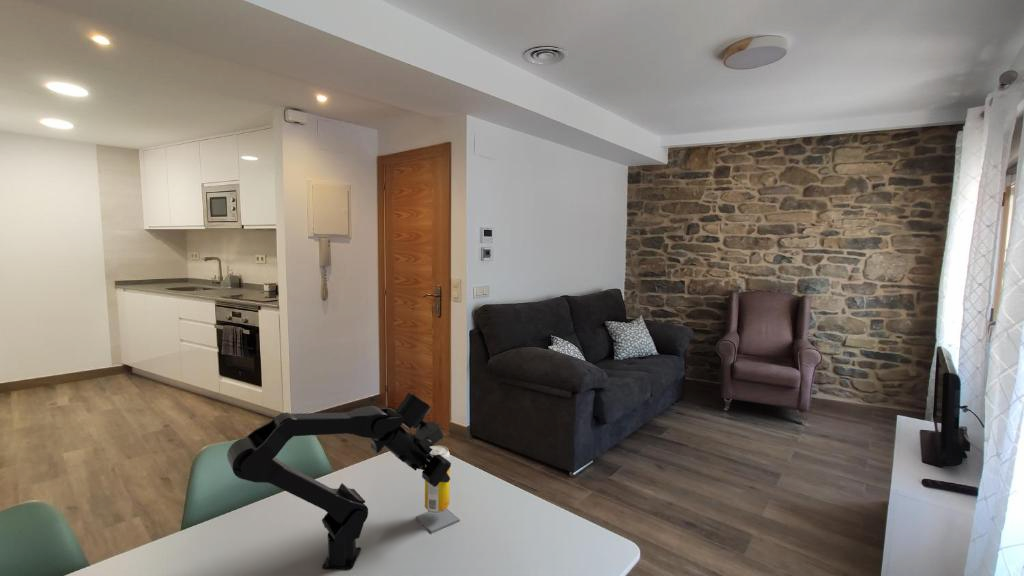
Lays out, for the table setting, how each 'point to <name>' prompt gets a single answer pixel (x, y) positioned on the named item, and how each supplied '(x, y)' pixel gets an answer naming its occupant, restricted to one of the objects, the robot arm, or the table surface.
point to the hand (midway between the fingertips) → (442, 475)
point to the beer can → (439, 494)
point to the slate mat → (437, 520)
